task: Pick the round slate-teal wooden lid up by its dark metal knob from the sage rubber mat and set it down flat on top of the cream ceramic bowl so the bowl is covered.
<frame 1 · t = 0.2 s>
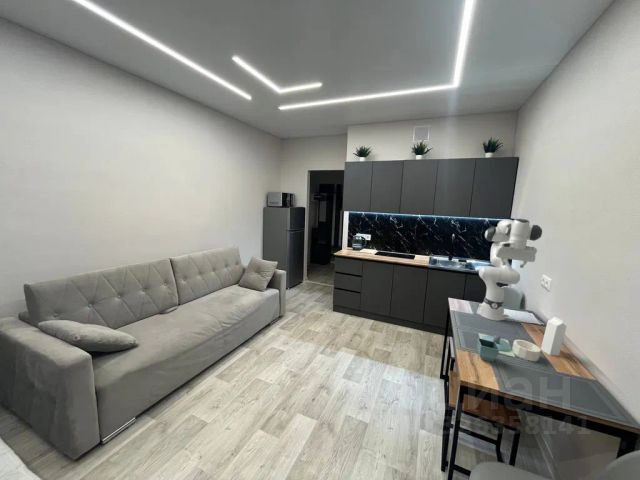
hand: (512, 266, 163), 47 cm above the table, fingers open, 8 cm apart
bowl: (524, 354, 150), on the table
mat: (495, 344, 158), on the table
milk: (549, 352, 155), on the table
lid: (495, 344, 158), point 1 cm above the table, touching mat
flower pot: (485, 358, 144), on the table
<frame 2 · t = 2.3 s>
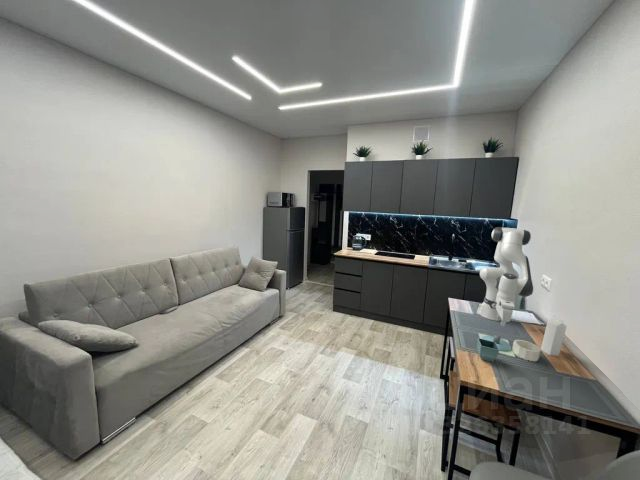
hand: (500, 322, 156), 15 cm above the table, fingers open, 8 cm apart
nothing on the table moved.
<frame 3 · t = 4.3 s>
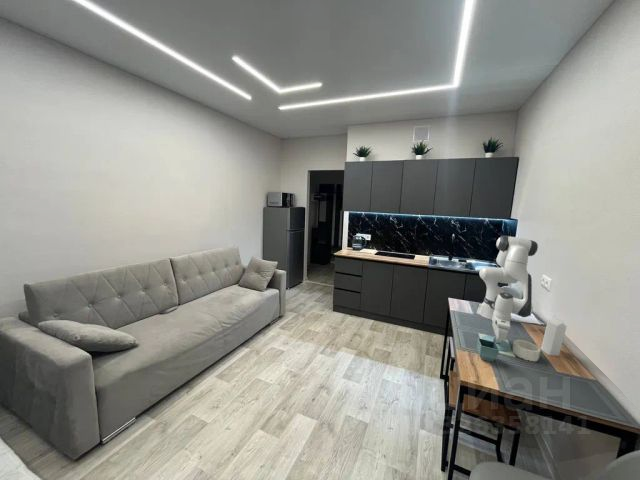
hand: (496, 340, 158), 3 cm above the table, fingers closed on lid, 3 cm apart
lid: (495, 344, 158), point 1 cm above the table, touching gripper, mat
everything else where it was.
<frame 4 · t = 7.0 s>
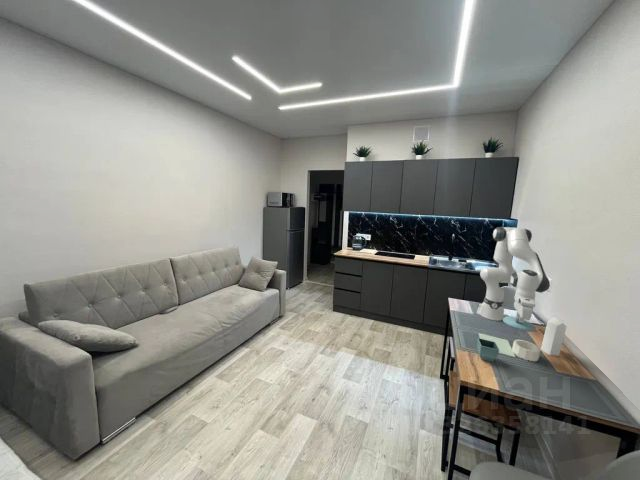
hand: (519, 320, 150), 19 cm above the table, fingers closed on lid, 3 cm apart
lid: (518, 324, 150), point 17 cm above the table, touching gripper
everything else where it was.
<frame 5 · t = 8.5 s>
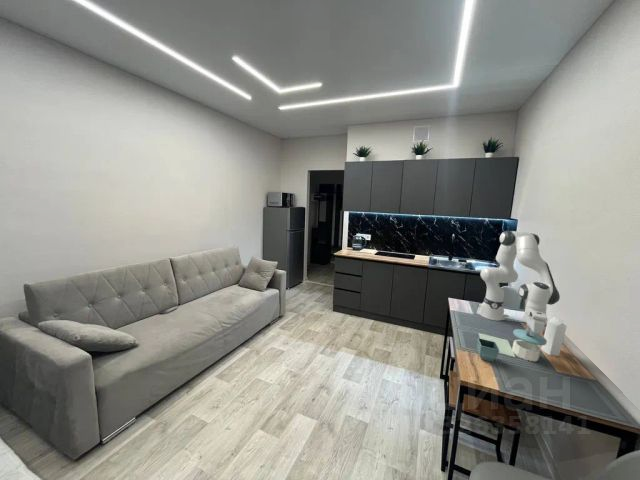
hand: (530, 333, 148), 13 cm above the table, fingers closed on lid, 3 cm apart
lid: (529, 337, 148), point 11 cm above the table, touching gripper
everything else where it was.
when the fingers open (10 cm above the table, at t = 9.8 s): lid drops 1 cm, resting on bowl.
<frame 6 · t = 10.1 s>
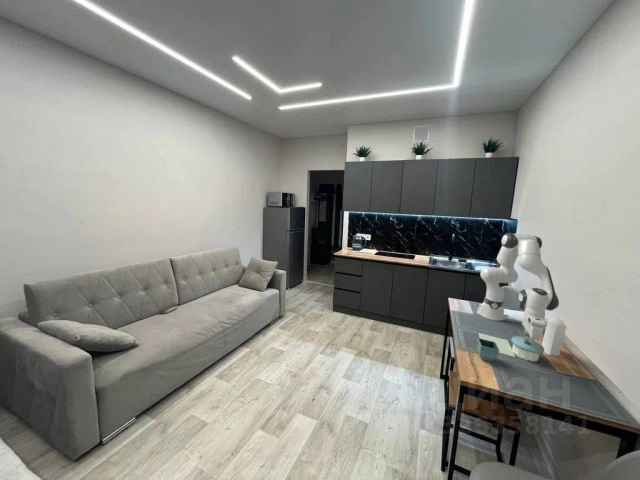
hand: (528, 339, 148), 10 cm above the table, fingers open, 6 cm apart
lid: (526, 345, 149), point 6 cm above the table, touching bowl
everything else where it was.
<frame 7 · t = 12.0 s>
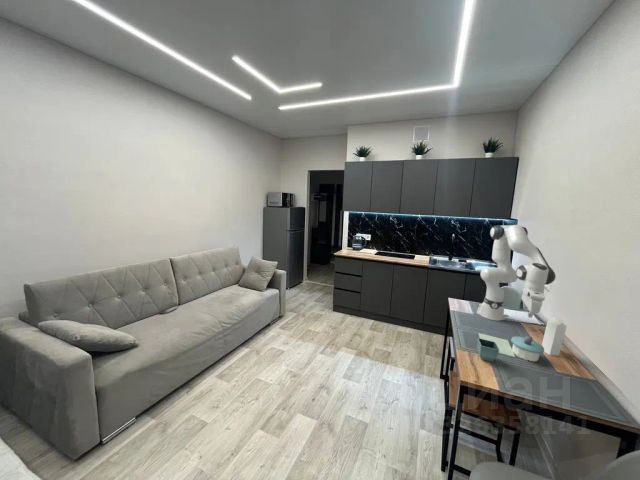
hand: (527, 313, 151), 23 cm above the table, fingers open, 8 cm apart
nothing on the table moved.
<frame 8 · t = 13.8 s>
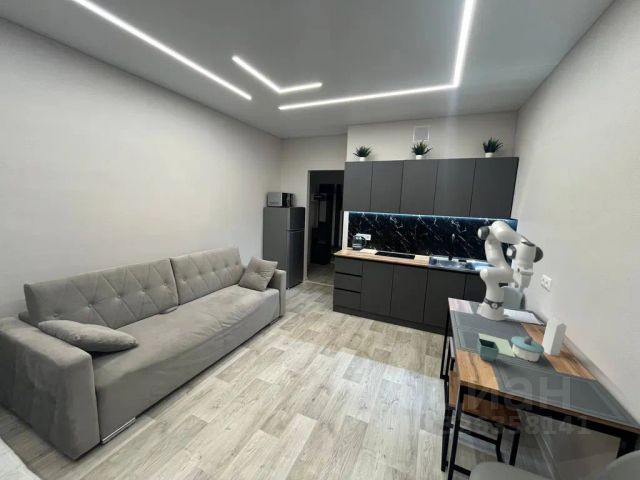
hand: (518, 290, 159), 34 cm above the table, fingers open, 8 cm apart
nothing on the table moved.
at the end: lid 0.1 cm off-centre on the bowl, point 6.0 cm above the bowl's base; lid tilted 0°; the gripper is holding nothing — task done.
